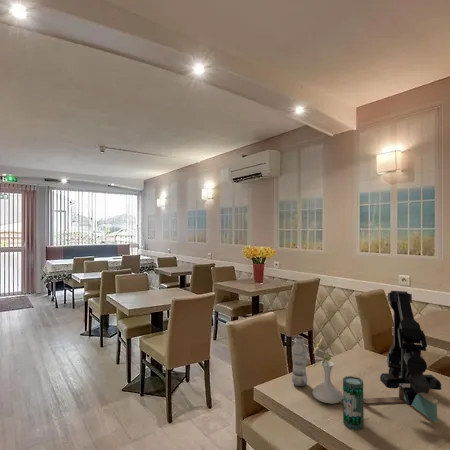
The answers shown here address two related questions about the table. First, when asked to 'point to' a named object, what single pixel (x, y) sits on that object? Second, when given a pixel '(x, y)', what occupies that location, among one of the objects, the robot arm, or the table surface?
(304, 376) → the plastic bottle
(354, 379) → the can
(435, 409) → the panel
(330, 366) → the flower in vase
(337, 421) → the table surface
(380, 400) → the gate frame
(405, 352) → the robot arm
